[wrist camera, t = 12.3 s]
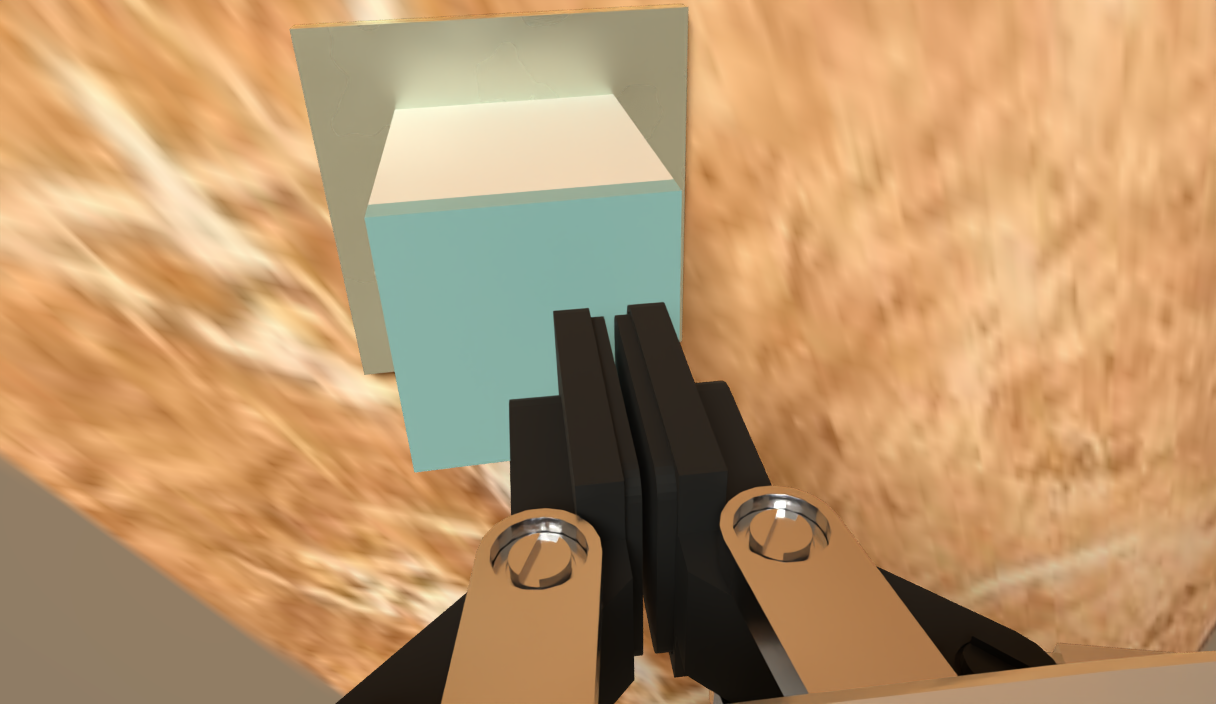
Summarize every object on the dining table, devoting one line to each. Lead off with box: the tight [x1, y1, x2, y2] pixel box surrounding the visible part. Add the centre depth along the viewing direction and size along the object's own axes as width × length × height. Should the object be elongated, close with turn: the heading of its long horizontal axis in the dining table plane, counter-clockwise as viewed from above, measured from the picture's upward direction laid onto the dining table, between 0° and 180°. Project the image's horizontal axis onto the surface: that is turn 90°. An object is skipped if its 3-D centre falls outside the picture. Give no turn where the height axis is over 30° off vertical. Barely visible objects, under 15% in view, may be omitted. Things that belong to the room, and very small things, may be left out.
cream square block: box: [290, 4, 688, 375], centre depth 18 cm, size 9×9×6 cm
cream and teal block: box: [364, 94, 682, 472], centre depth 18 cm, size 5×5×7 cm
